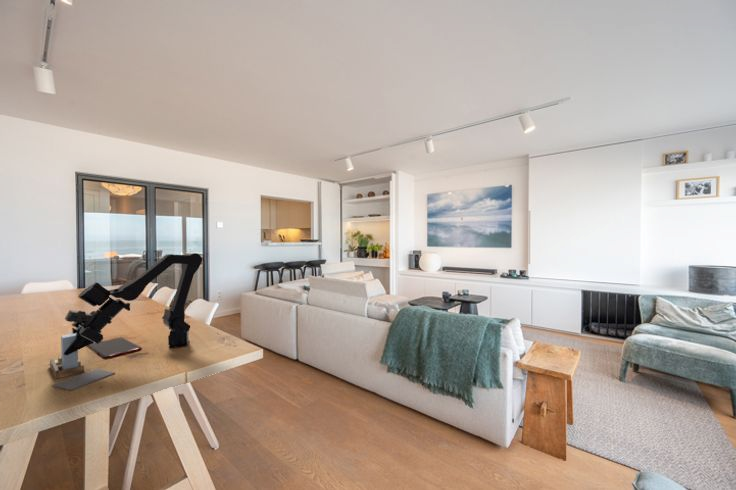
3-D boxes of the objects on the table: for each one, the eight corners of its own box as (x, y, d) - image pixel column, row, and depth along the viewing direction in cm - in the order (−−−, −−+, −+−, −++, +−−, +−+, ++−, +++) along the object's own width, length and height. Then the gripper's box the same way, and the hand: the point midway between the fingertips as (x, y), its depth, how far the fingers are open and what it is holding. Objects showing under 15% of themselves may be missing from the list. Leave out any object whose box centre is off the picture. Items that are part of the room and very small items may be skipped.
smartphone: (121, 336, 140) (143, 347, 125) (121, 339, 140) (143, 350, 125) (85, 344, 130) (104, 356, 115) (86, 347, 130) (104, 360, 115)
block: (76, 368, 107) (75, 333, 107) (78, 371, 105) (77, 335, 104) (62, 372, 105) (61, 335, 104) (64, 375, 102) (62, 338, 102)
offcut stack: (77, 361, 114) (76, 352, 114) (79, 364, 111) (78, 354, 111) (54, 366, 109) (53, 357, 109) (55, 369, 107) (55, 360, 107)
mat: (97, 369, 106) (97, 368, 106) (114, 373, 103) (114, 372, 103) (52, 385, 95) (52, 384, 95) (70, 390, 92) (70, 389, 92)
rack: (76, 360, 114) (76, 353, 114) (84, 371, 105) (83, 364, 105) (50, 366, 109) (50, 359, 109) (55, 378, 100) (55, 371, 100)
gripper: (79, 297, 113) (35, 334, 105) (89, 304, 101) (41, 347, 93) (107, 314, 119) (68, 351, 111) (120, 323, 108) (77, 364, 99)
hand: (64, 353), depth 104 cm, fingers closed on block, 4 cm apart
